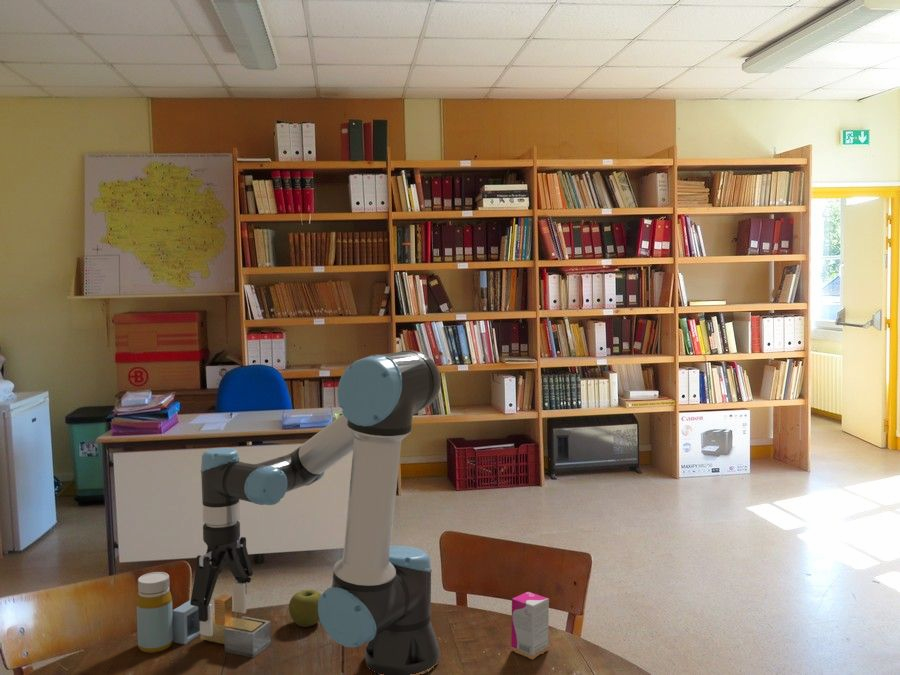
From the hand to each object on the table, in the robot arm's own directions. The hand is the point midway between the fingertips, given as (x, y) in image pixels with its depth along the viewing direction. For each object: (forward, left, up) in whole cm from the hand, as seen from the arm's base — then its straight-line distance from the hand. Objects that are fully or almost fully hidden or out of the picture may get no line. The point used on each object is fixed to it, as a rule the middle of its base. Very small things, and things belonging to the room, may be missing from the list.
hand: (223, 622), depth 168 cm
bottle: (+13, +6, -5) cm, 15 cm away
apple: (-12, -14, -5) cm, 19 cm away
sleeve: (-6, 0, -4) cm, 7 cm away
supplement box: (-62, -20, -5) cm, 65 cm away
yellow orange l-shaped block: (-2, 0, -3) cm, 4 cm away
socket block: (+9, 0, -4) cm, 10 cm away
